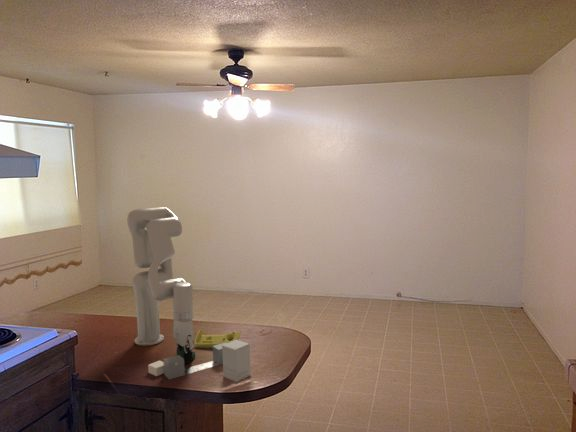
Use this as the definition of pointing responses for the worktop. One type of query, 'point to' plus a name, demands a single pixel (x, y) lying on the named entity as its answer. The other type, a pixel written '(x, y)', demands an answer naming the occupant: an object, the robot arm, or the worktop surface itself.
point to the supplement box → (236, 360)
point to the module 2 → (218, 353)
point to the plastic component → (214, 339)
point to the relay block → (156, 368)
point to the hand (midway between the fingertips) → (184, 358)
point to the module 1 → (174, 367)
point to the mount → (181, 352)
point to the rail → (200, 367)
